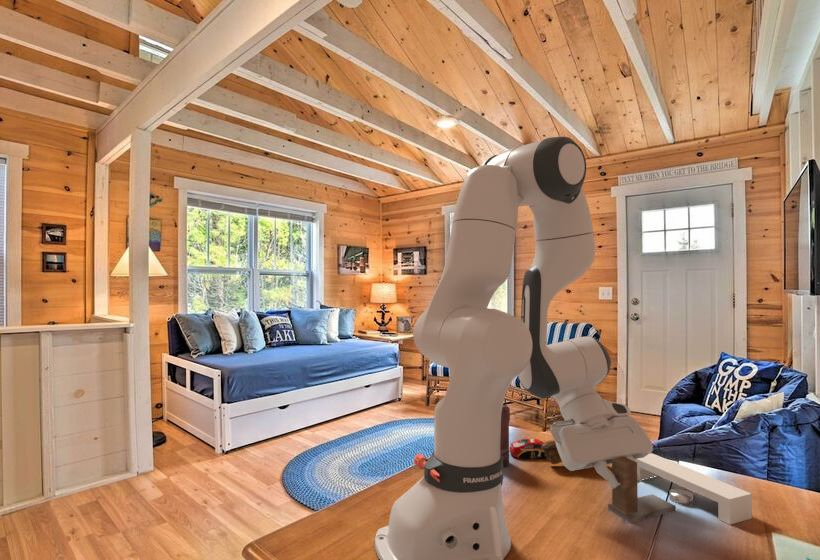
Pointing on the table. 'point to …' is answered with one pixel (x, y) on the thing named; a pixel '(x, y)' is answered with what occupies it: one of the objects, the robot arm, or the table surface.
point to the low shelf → (700, 487)
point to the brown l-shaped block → (634, 495)
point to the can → (505, 434)
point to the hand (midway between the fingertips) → (627, 485)
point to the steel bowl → (681, 496)
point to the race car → (527, 449)
